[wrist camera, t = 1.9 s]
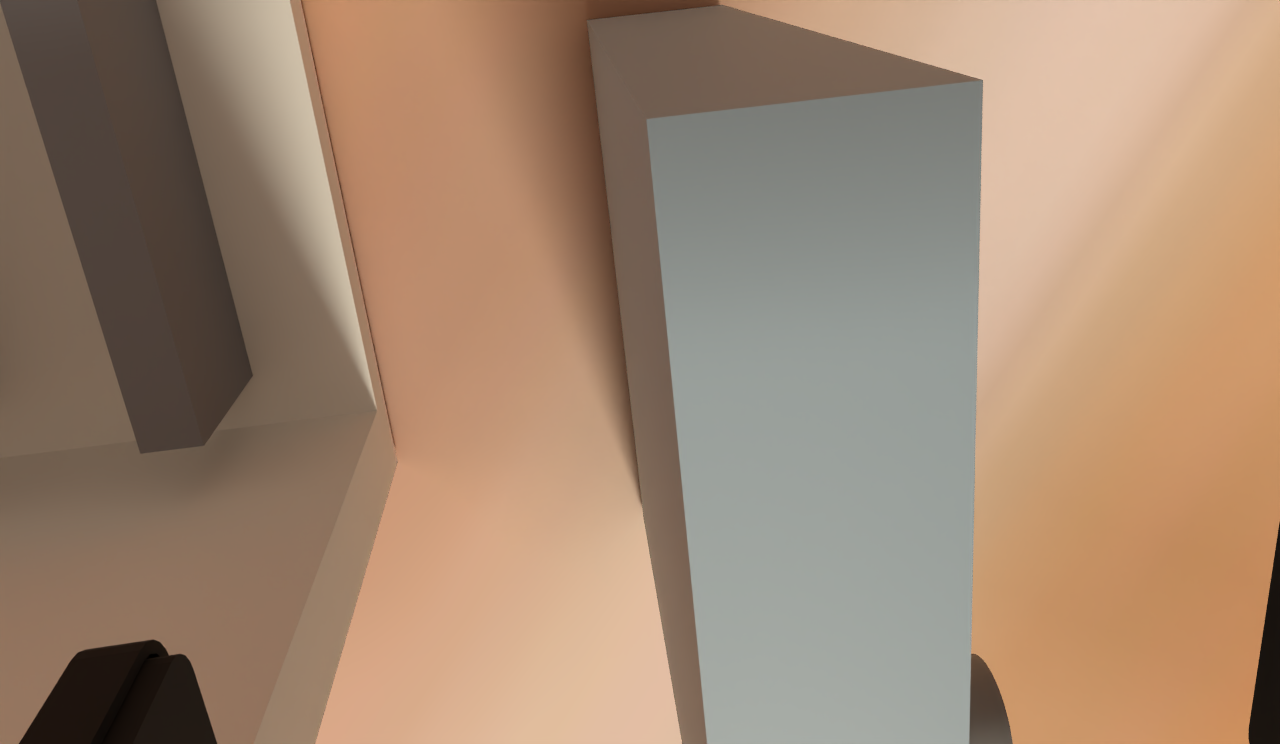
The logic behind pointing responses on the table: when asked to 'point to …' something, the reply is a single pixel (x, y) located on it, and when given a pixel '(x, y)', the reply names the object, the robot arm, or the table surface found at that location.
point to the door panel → (800, 373)
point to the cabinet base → (180, 358)
